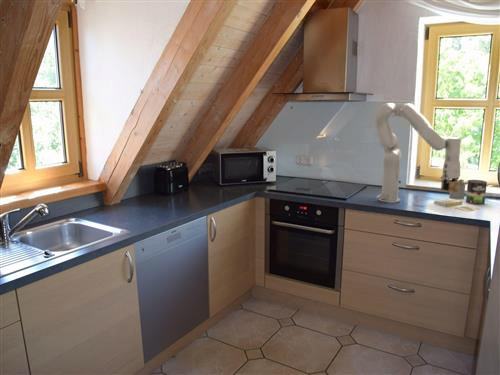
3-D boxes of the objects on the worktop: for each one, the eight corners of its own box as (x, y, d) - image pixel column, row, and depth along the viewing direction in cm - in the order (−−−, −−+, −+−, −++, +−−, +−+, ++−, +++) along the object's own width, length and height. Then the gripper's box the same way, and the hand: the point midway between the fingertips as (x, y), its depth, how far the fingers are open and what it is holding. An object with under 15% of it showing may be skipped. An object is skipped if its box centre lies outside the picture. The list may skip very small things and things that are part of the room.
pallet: (467, 213, 237) (467, 211, 237) (453, 210, 245) (453, 208, 244) (480, 211, 242) (480, 209, 242) (465, 207, 250) (466, 205, 249)
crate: (451, 192, 248) (452, 182, 246) (440, 190, 254) (441, 180, 252) (458, 191, 250) (459, 181, 249) (447, 189, 256) (448, 179, 255)
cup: (462, 198, 272) (464, 182, 270) (464, 201, 265) (466, 185, 263) (448, 197, 275) (449, 182, 273) (449, 200, 268) (451, 184, 265)
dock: (446, 208, 247) (447, 203, 247) (433, 205, 255) (434, 200, 254) (461, 206, 253) (462, 201, 252) (448, 202, 261) (449, 198, 260)
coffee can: (487, 206, 251) (489, 183, 248) (468, 206, 253) (470, 182, 250) (481, 202, 261) (483, 179, 258) (462, 202, 263) (465, 179, 260)
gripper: (447, 160, 241) (445, 191, 245) (467, 158, 249) (465, 188, 252) (436, 159, 247) (434, 189, 251) (456, 156, 255) (453, 186, 259)
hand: (449, 188), depth 252 cm, fingers closed on crate, 6 cm apart
